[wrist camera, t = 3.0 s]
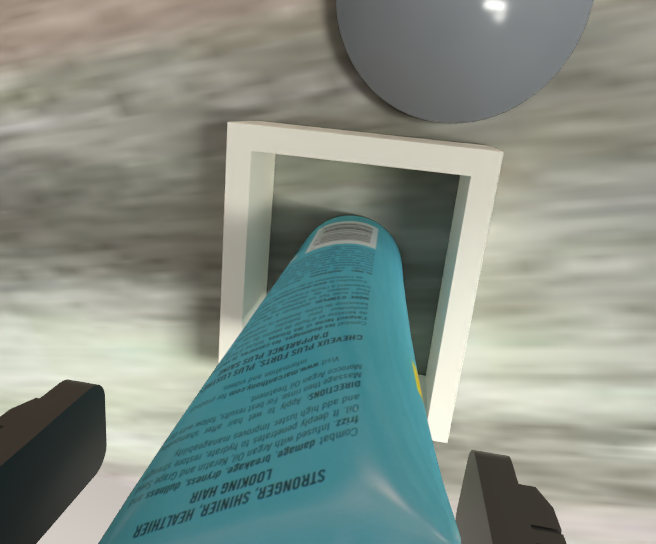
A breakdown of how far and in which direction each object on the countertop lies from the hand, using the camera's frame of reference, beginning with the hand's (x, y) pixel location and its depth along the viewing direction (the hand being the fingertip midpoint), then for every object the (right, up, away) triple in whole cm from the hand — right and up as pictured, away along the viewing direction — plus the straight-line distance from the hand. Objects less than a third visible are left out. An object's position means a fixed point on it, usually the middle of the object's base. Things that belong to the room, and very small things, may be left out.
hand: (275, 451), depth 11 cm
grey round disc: (+7, +15, +10) cm, 19 cm away
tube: (+2, +4, +14) cm, 15 cm away
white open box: (+2, +4, +14) cm, 15 cm away
